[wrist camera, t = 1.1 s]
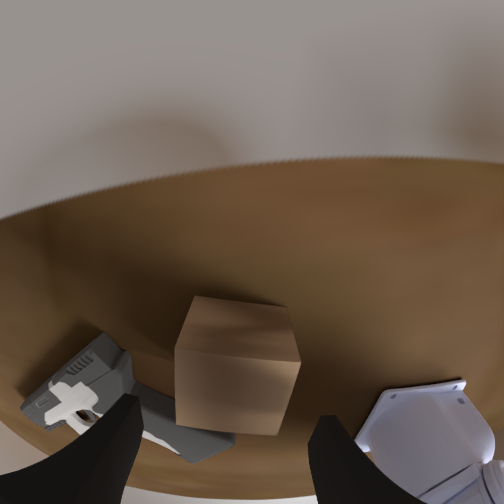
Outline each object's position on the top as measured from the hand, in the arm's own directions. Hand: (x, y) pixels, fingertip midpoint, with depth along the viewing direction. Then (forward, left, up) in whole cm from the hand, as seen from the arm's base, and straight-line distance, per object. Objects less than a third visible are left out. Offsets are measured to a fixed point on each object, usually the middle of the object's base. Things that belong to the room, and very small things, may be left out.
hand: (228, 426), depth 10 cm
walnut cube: (0, 0, -7) cm, 7 cm away
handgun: (+9, +11, -7) cm, 16 cm away
